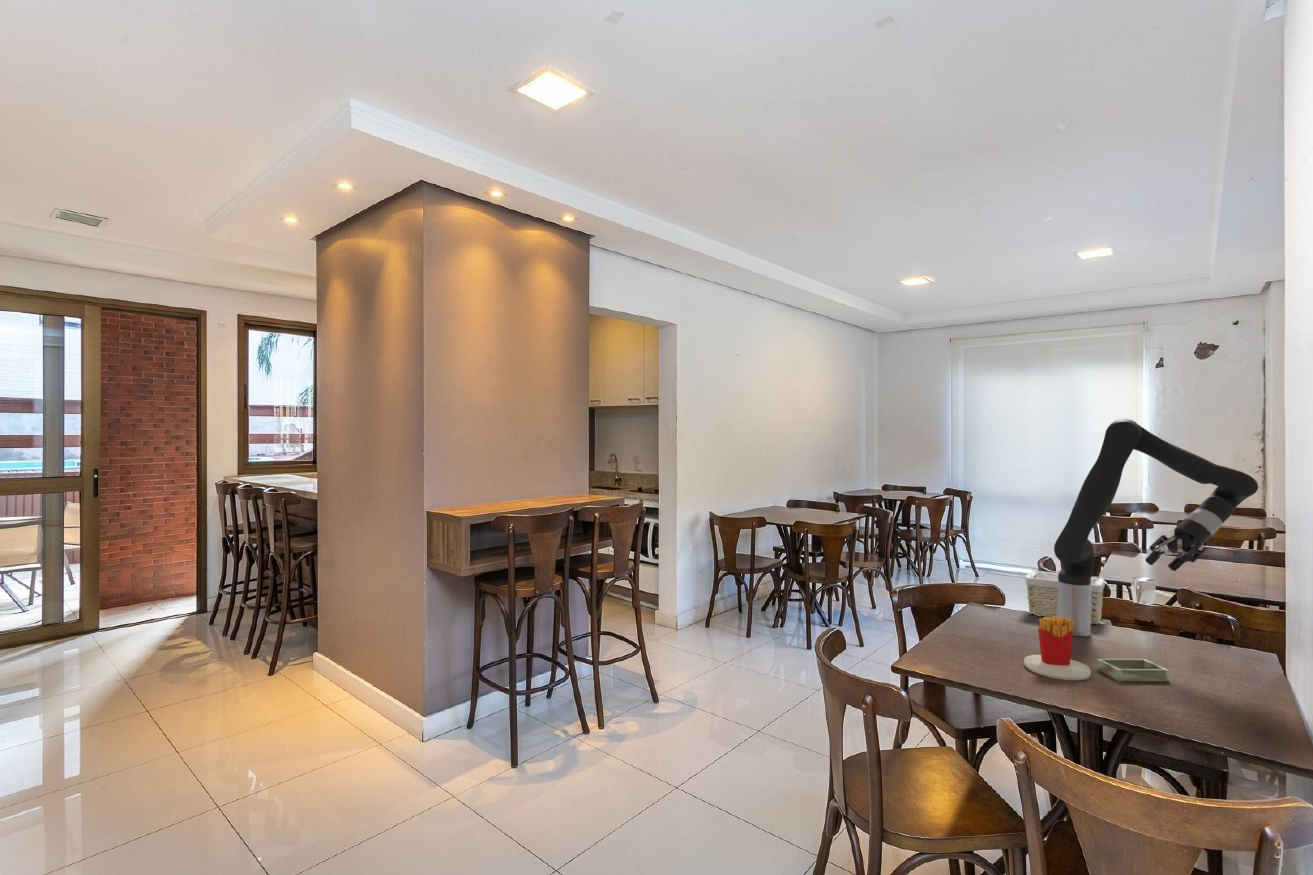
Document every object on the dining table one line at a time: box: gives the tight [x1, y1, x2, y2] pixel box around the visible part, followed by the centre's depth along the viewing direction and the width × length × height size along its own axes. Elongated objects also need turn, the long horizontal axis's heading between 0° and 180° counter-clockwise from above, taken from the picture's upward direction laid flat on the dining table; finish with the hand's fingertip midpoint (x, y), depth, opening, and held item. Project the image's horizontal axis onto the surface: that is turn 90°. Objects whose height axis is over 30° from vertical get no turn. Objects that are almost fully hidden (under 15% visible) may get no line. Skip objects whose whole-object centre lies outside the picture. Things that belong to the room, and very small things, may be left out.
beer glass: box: [1130, 576, 1157, 605], centre depth 225 cm, size 7×7×15 cm
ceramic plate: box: [1023, 654, 1092, 681], centre depth 177 cm, size 16×16×2 cm
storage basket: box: [1024, 570, 1106, 625], centre depth 231 cm, size 24×16×15 cm
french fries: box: [1037, 616, 1075, 665], centre depth 179 cm, size 9×4×13 cm, turn 85°
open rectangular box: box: [1096, 658, 1170, 682], centre depth 173 cm, size 9×14×3 cm, turn 89°
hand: (1159, 565), depth 183 cm, fingers open, 8 cm apart
